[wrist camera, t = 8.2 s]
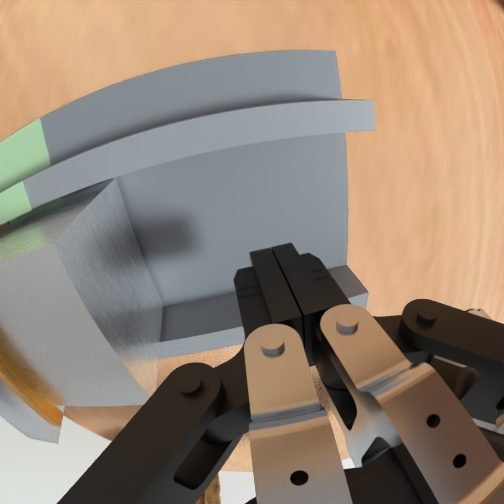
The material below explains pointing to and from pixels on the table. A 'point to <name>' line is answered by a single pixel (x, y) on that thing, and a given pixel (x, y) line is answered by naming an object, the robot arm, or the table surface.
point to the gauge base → (201, 182)
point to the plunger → (77, 306)
